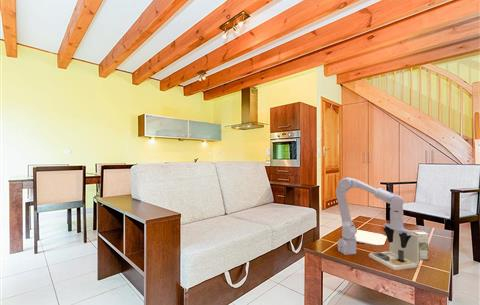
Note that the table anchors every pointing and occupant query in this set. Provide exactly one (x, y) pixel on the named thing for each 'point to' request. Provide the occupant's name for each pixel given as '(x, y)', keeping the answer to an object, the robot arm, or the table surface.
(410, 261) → the equipment case
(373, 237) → the plate
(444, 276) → the table surface
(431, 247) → the table surface
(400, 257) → the rod
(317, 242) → the table surface
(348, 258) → the table surface
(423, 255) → the syrup box
